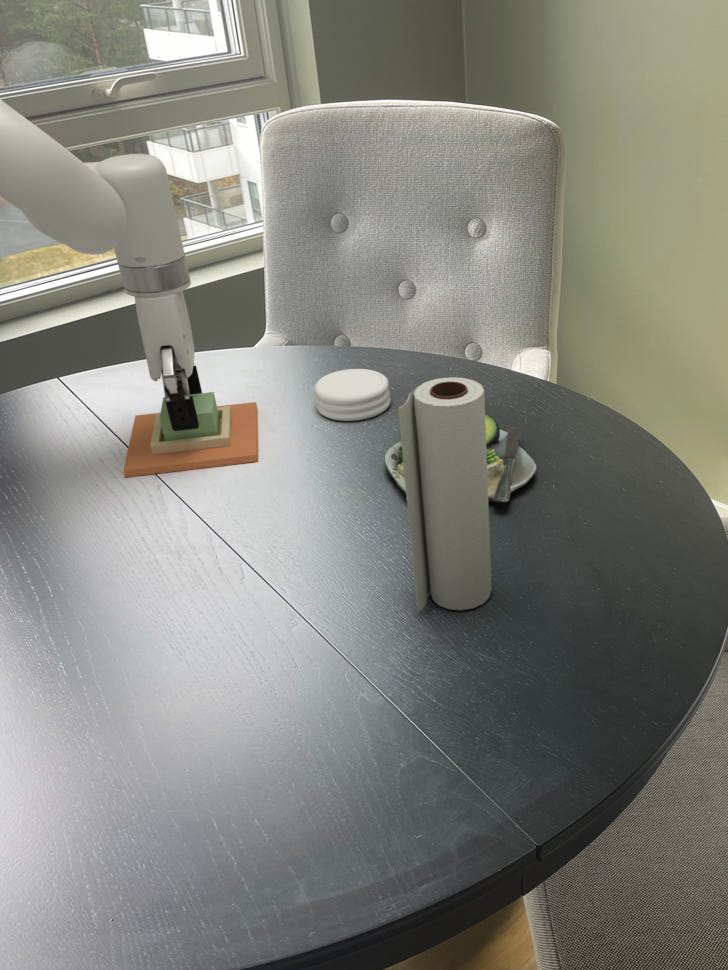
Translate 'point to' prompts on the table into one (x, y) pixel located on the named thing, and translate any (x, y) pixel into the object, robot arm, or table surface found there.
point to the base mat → (193, 444)
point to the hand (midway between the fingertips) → (188, 412)
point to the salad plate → (503, 462)
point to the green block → (206, 419)
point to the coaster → (352, 394)
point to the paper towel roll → (447, 492)
